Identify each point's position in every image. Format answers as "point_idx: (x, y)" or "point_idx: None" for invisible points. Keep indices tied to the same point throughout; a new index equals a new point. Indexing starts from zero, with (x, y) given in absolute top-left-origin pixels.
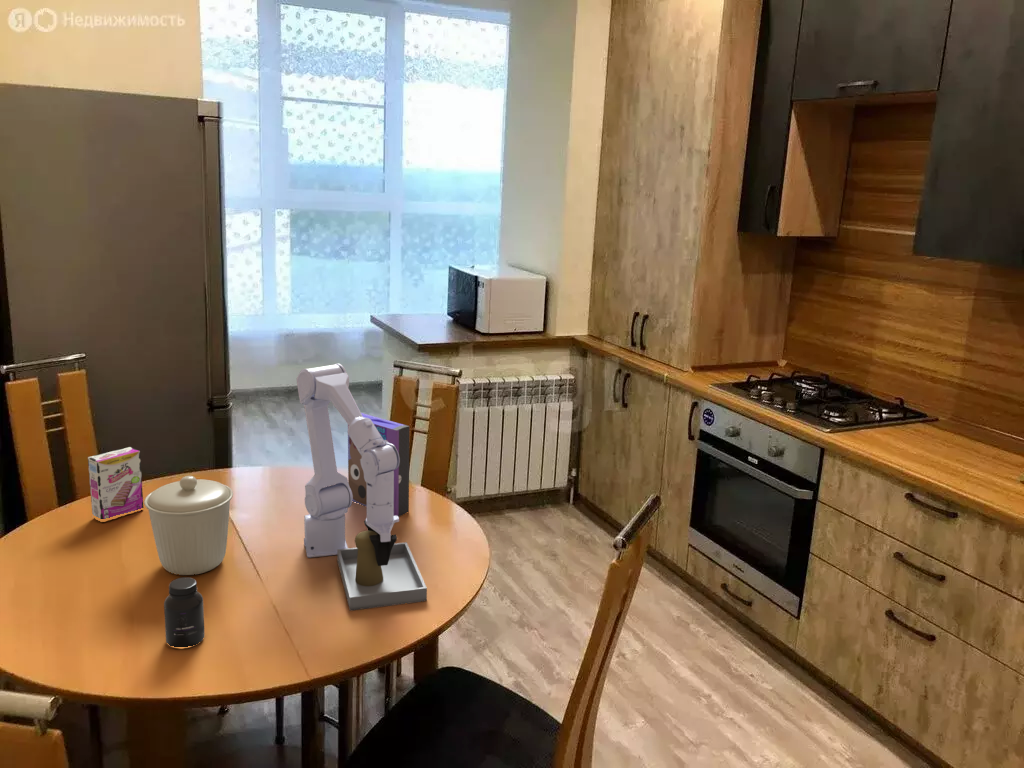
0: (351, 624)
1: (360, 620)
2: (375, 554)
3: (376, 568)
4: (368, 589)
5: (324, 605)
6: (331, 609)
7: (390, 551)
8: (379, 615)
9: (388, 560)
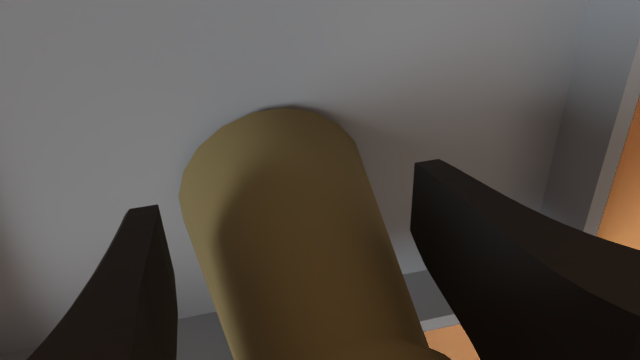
0: (637, 232)
1: (628, 201)
2: (460, 316)
3: (376, 212)
4: (396, 188)
5: (448, 339)
6: None
7: (556, 224)
8: (635, 120)
9: (468, 175)
